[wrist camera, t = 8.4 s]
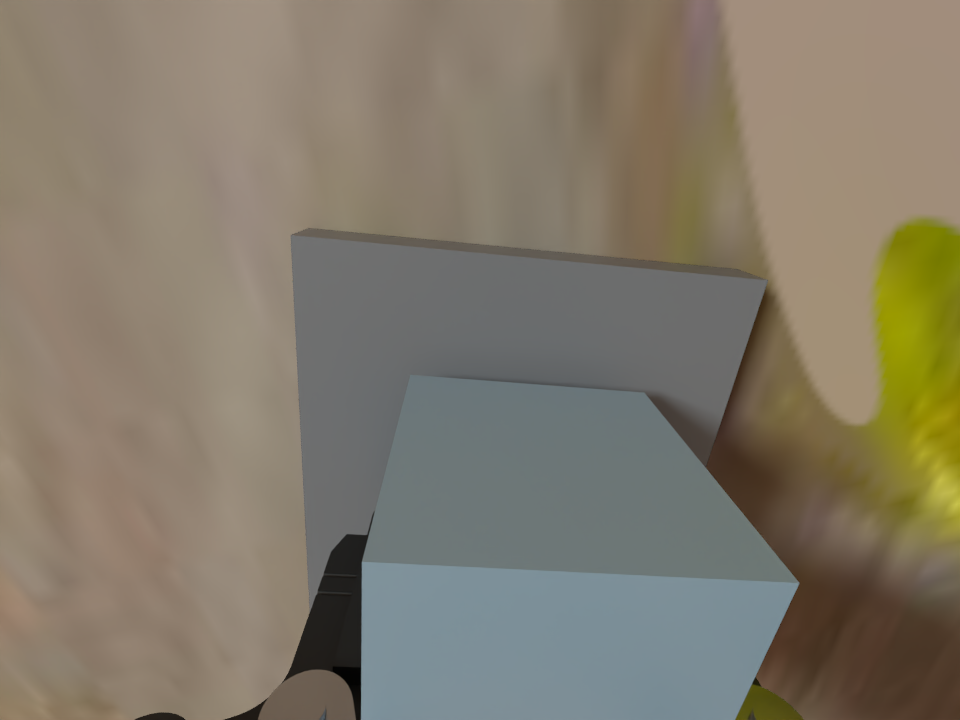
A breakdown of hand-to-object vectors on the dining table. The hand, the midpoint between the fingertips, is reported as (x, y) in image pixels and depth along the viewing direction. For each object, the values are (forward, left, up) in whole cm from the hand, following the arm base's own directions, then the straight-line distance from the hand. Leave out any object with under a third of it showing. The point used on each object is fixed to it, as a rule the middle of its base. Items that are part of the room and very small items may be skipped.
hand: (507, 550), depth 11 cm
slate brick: (0, 0, -1) cm, 1 cm away
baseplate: (0, 0, -3) cm, 3 cm away
